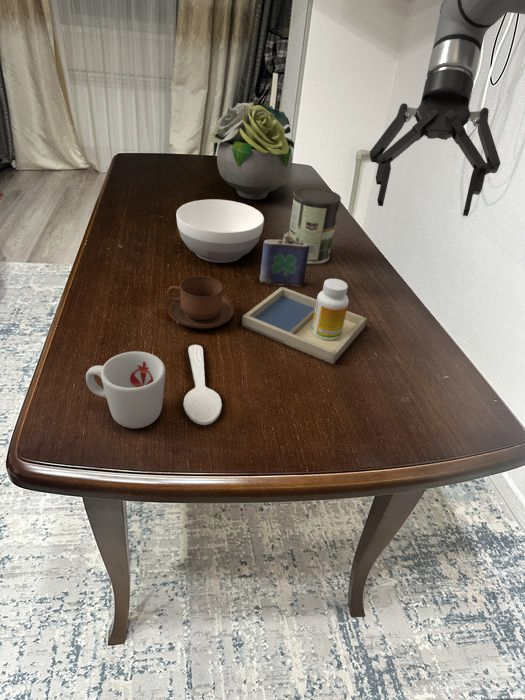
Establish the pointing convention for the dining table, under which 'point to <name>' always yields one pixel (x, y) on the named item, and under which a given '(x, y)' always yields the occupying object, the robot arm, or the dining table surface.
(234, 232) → the bowl
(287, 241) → the flask
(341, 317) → the supplement bottle
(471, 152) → the robot arm
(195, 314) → the cup and saucer
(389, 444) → the dining table surface
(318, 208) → the coffee can
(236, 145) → the flower arrangement
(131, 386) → the cup
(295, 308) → the sorting tray
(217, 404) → the spoon
